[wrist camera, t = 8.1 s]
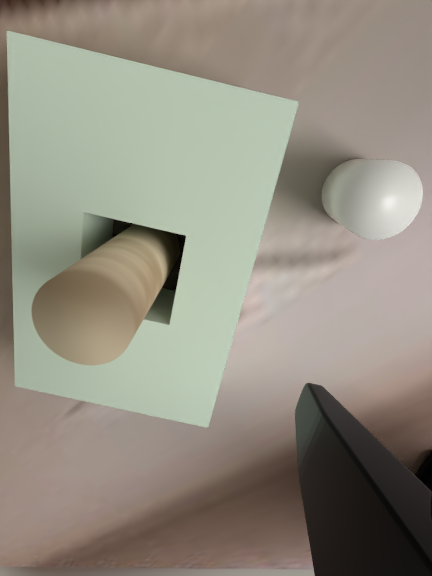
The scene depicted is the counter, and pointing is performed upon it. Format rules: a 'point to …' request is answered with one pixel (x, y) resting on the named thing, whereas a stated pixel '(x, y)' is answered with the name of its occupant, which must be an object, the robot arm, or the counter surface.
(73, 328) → the tan wooden cylinder
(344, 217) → the white rounded piece
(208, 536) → the counter surface
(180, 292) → the hole block
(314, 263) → the counter surface
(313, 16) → the counter surface
